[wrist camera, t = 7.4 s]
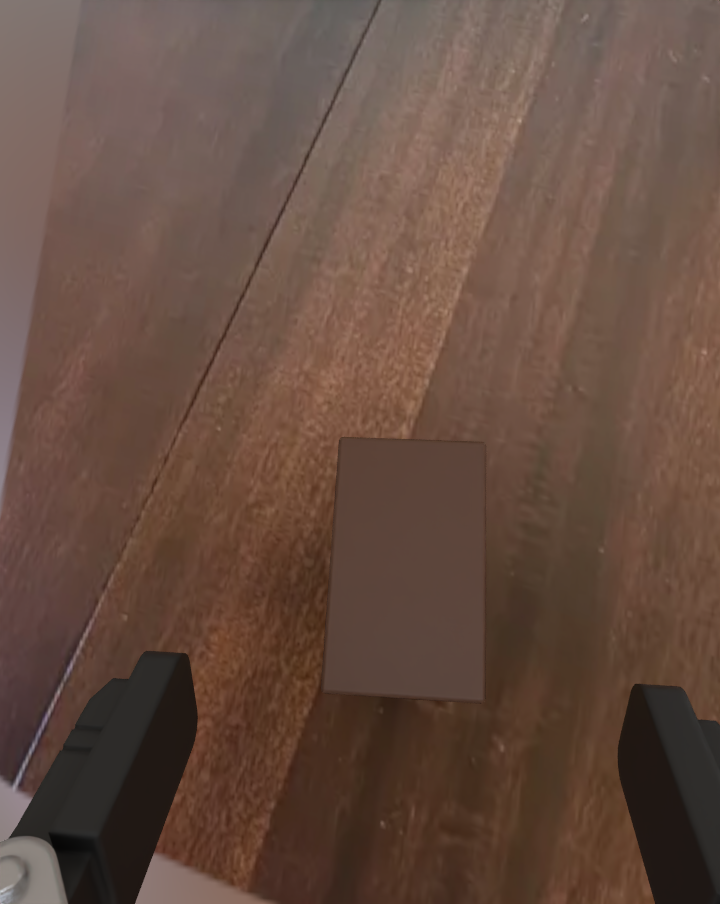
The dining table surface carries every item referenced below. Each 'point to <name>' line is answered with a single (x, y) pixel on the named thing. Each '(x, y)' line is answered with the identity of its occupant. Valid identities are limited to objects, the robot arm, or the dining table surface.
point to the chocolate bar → (408, 571)
